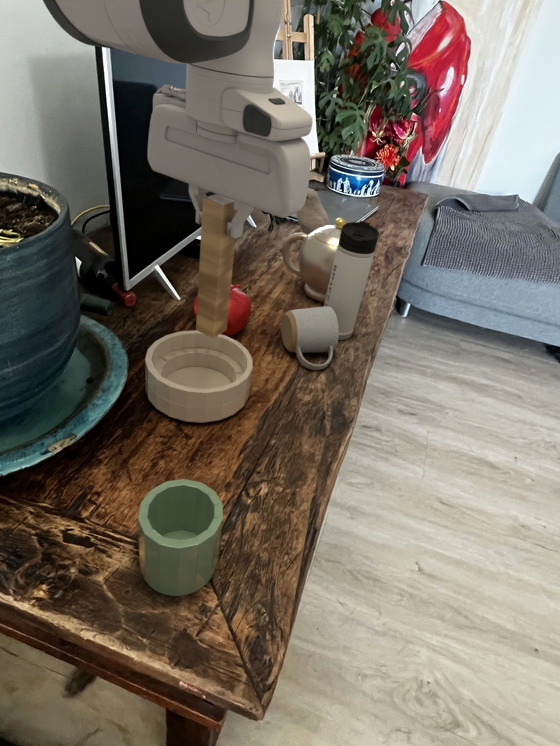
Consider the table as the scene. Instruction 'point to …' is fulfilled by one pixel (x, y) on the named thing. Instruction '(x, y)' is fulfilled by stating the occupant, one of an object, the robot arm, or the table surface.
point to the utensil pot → (179, 536)
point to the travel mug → (350, 273)
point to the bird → (312, 213)
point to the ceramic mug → (310, 333)
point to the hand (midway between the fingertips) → (218, 230)
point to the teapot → (315, 258)
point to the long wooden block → (215, 266)
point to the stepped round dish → (197, 376)
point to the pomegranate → (235, 310)
